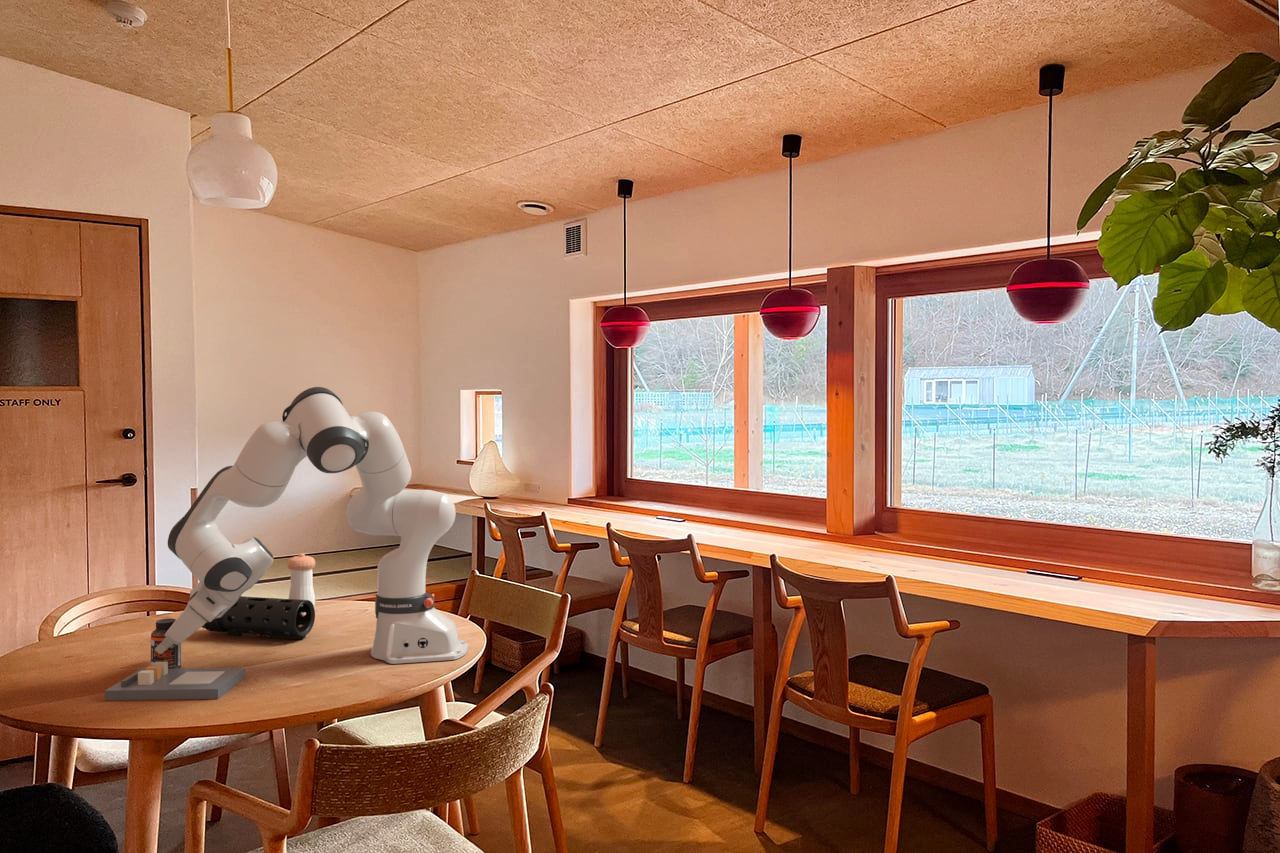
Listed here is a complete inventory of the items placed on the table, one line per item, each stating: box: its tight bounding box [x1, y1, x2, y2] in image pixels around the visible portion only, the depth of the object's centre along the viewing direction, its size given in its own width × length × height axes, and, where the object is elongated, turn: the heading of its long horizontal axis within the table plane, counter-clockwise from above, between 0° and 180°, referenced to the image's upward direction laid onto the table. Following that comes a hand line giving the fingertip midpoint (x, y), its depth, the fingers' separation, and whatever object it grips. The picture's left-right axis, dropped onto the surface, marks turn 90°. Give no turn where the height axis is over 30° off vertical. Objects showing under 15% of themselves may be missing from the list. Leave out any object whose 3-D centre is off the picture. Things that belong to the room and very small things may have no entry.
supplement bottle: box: [150, 617, 182, 669], centre depth 195 cm, size 6×6×11 cm
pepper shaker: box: [287, 553, 317, 627], centre depth 235 cm, size 7×7×19 cm
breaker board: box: [104, 662, 246, 701], centre depth 184 cm, size 22×14×4 cm, turn 93°
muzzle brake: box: [201, 595, 316, 640], centre depth 224 cm, size 10×28×10 cm, turn 78°
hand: (162, 645), depth 195 cm, fingers open, 8 cm apart
